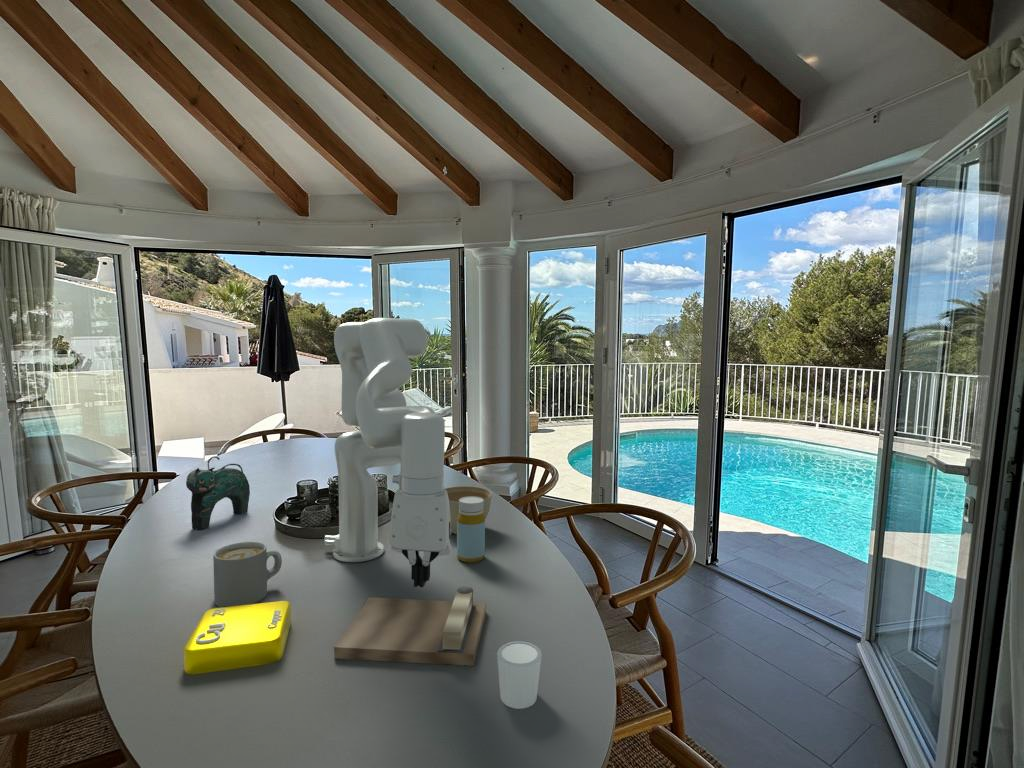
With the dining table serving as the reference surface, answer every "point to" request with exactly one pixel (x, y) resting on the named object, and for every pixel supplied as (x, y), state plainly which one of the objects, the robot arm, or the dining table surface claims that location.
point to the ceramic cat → (216, 492)
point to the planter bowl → (465, 491)
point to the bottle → (471, 529)
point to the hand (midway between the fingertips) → (420, 583)
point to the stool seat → (408, 633)
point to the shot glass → (519, 673)
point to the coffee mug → (242, 573)
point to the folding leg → (458, 619)
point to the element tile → (238, 637)
